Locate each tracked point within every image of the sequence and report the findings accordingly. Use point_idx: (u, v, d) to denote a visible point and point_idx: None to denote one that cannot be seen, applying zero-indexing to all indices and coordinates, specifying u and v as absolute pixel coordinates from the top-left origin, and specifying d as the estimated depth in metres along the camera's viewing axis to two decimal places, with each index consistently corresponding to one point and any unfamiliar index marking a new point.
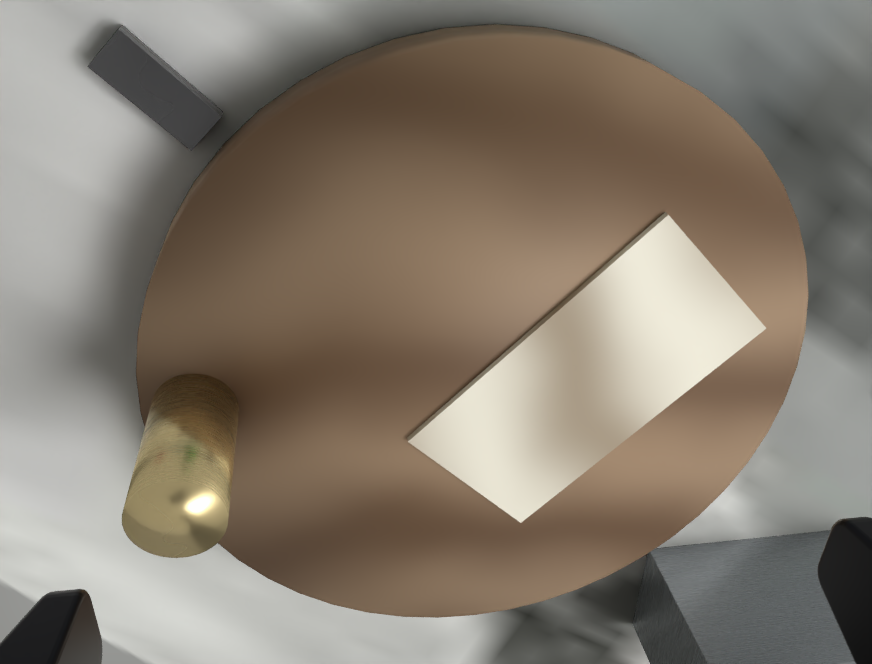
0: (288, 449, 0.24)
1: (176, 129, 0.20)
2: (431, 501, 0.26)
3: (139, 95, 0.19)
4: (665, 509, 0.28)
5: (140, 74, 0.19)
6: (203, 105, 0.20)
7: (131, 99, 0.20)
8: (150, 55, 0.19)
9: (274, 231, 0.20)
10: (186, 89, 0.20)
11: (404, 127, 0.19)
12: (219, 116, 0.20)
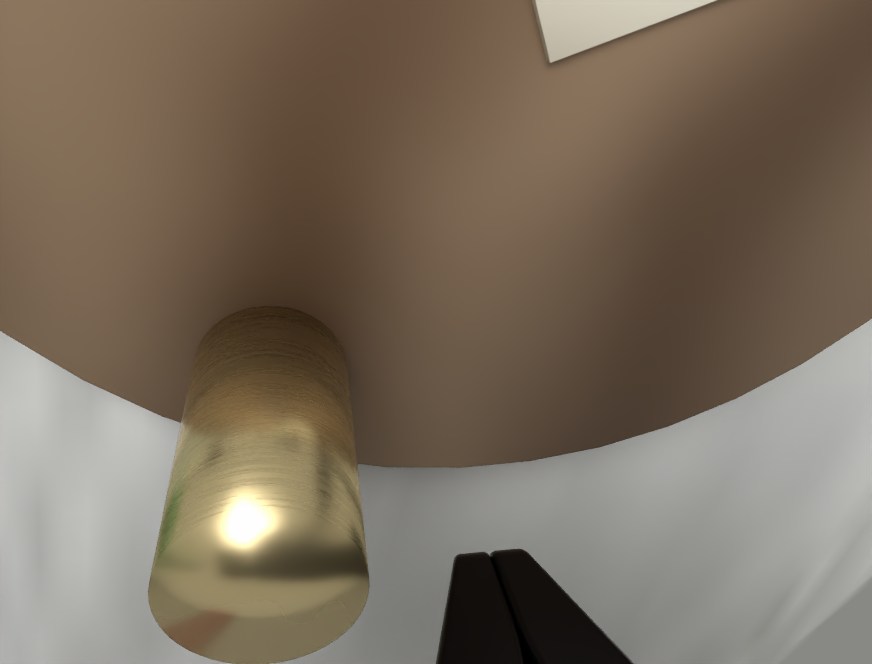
0: (435, 280, 0.12)
1: None
2: (730, 88, 0.11)
3: None
4: None
5: None
6: None
7: None
8: None
9: None
10: None
11: None
12: None
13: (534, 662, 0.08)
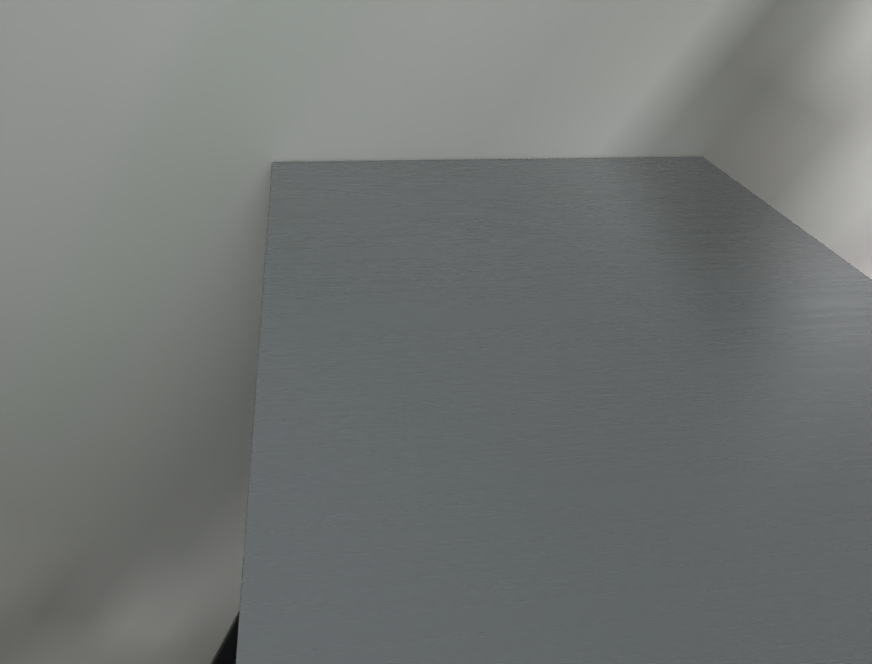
0: None
1: None
2: None
3: None
4: None
5: None
6: None
7: None
8: None
9: None
10: None
11: None
12: None
13: None
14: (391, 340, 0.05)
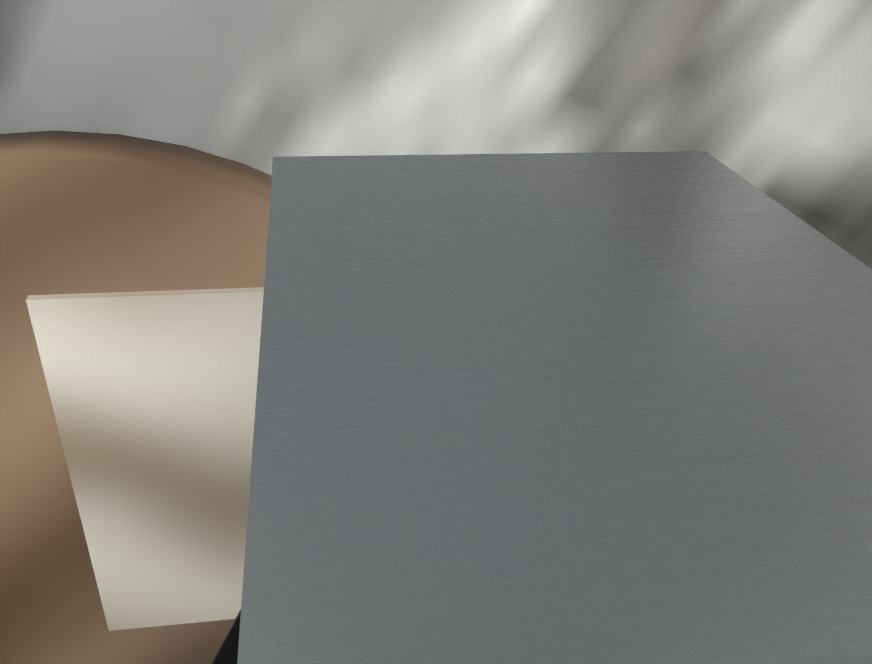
0: None
1: None
2: (210, 648, 0.22)
3: None
4: None
5: None
6: None
7: None
8: None
9: None
10: None
11: None
12: None
13: None
14: (394, 333, 0.05)
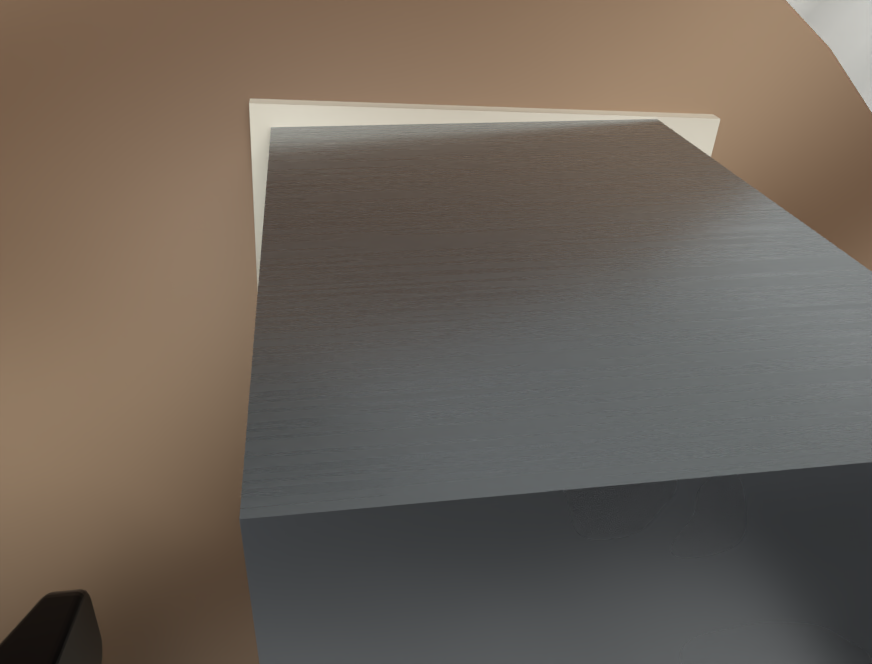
0: None
1: None
2: None
3: None
4: None
5: None
6: None
7: None
8: None
9: None
10: None
11: None
12: None
13: None
14: (371, 256, 0.06)
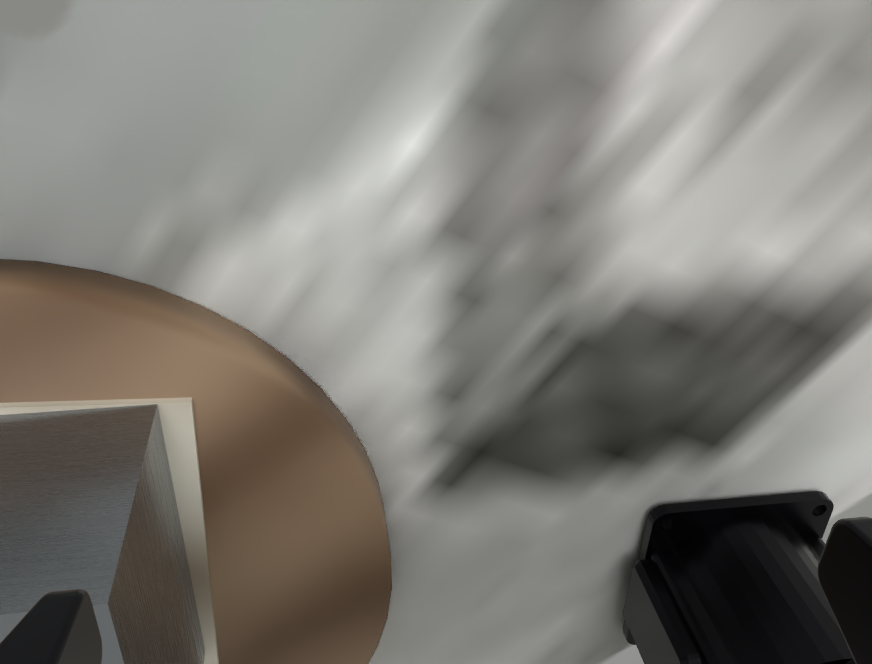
0: None
1: None
2: None
3: None
4: (347, 575, 0.23)
5: None
6: None
7: None
8: None
9: None
10: None
11: None
12: None
13: None
14: None
